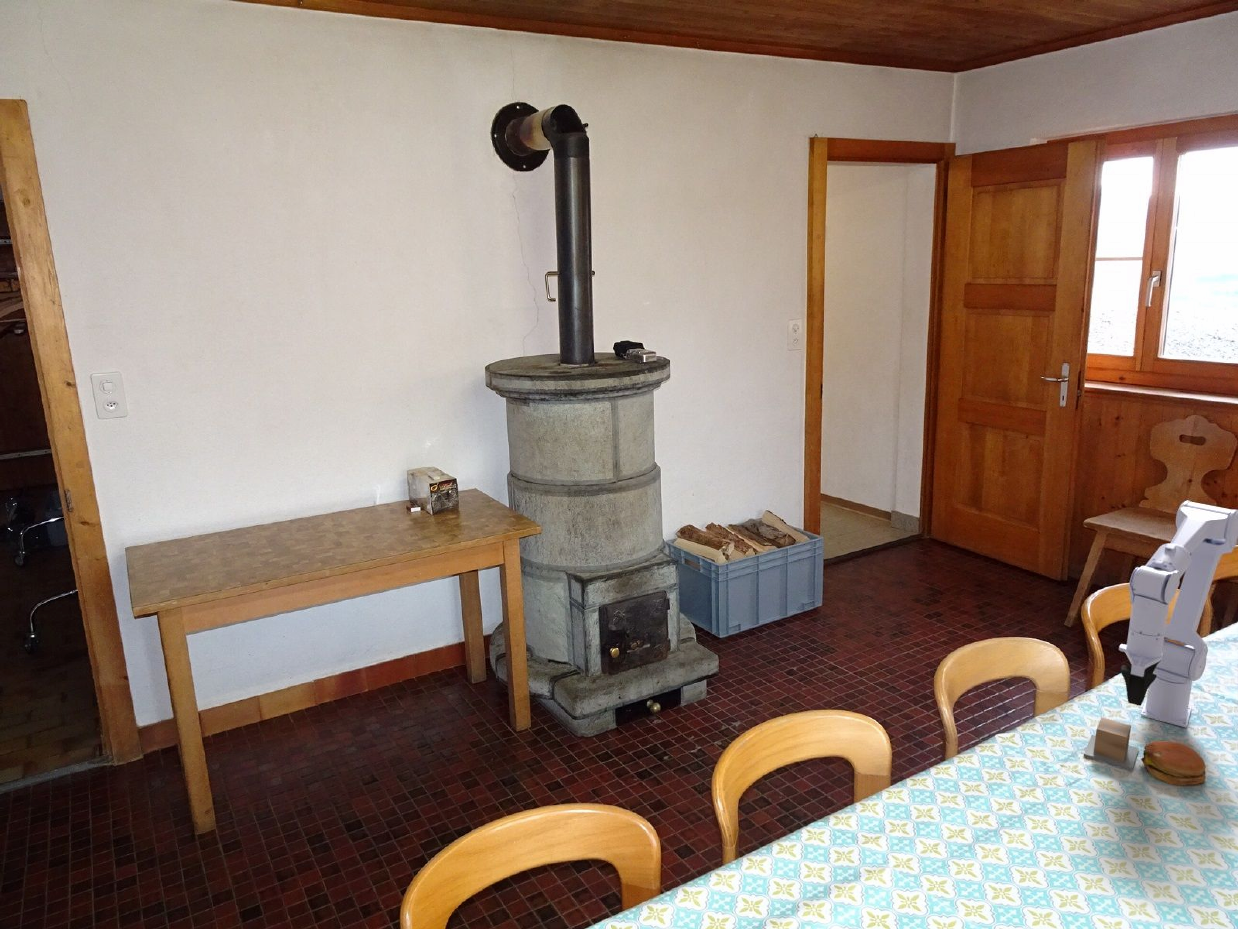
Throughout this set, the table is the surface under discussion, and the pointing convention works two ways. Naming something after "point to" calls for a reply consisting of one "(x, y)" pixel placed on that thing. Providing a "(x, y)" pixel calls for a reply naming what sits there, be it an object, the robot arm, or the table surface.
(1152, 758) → the burger
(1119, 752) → the walnut cube
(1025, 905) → the table surface
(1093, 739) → the slate coaster
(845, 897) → the table surface
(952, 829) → the table surface
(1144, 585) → the robot arm
